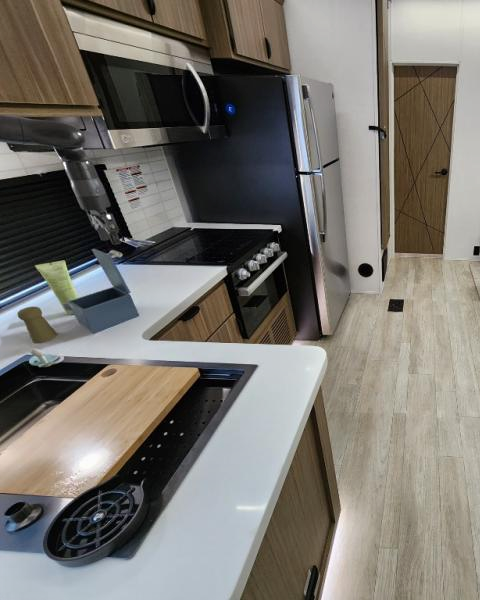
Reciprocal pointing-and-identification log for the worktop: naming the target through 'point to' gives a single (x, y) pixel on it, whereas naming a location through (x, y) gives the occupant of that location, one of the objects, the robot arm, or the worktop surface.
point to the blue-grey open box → (103, 309)
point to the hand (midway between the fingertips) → (111, 242)
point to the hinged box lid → (111, 268)
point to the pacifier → (43, 358)
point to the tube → (59, 282)
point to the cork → (36, 325)
